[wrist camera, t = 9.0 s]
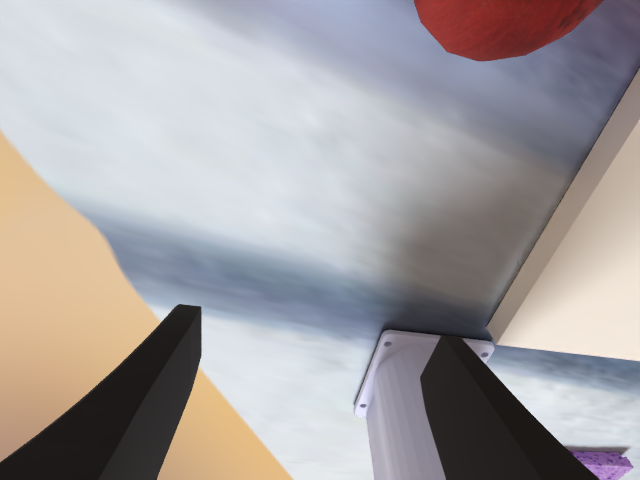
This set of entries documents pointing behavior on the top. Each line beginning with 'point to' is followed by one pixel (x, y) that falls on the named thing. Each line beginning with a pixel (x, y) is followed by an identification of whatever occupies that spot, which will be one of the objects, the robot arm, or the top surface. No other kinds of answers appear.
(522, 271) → the board
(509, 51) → the onion
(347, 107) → the top surface
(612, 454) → the sponges
